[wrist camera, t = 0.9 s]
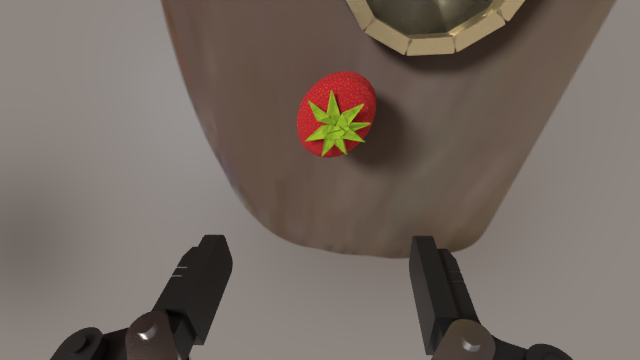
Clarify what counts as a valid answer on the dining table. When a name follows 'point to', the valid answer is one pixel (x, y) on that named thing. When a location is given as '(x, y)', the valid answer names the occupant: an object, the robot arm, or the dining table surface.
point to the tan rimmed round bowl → (431, 22)
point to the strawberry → (336, 114)
